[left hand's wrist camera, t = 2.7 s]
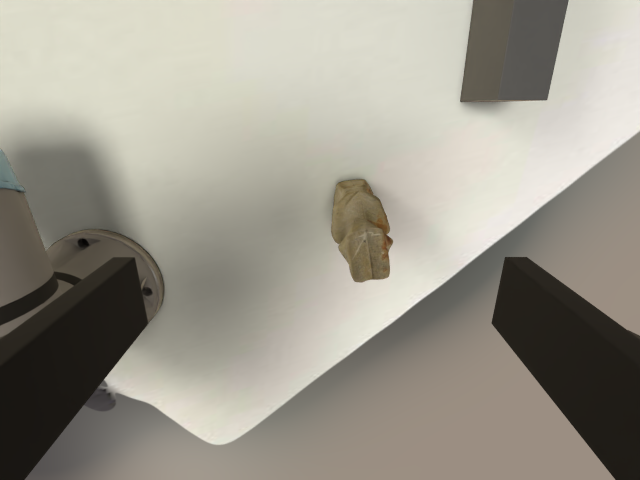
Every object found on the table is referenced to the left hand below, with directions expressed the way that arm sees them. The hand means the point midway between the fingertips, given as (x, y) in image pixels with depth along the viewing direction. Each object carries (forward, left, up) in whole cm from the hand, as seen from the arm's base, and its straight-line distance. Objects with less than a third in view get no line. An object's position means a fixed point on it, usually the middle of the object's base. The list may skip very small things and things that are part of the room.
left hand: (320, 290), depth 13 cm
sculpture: (-1, -6, -31) cm, 32 cm away
